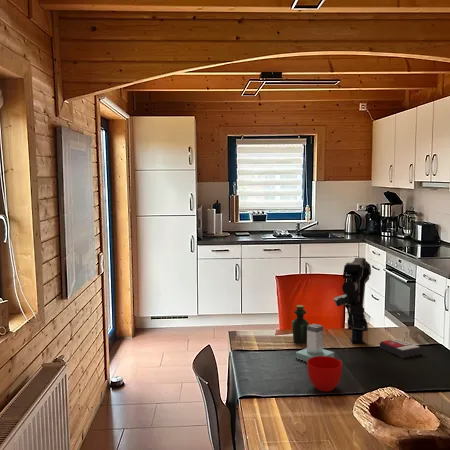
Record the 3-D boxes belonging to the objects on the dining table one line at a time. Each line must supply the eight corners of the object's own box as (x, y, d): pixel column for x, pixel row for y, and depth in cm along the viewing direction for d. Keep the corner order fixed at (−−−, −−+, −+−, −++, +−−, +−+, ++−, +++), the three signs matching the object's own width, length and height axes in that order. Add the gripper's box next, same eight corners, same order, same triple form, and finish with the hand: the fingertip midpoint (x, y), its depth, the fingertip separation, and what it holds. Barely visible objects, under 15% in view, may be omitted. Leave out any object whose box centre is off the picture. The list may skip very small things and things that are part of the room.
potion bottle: (311, 340, 234) (311, 305, 232) (304, 345, 227) (304, 308, 225) (295, 338, 238) (295, 303, 237) (289, 342, 231) (289, 306, 230)
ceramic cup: (344, 379, 188) (344, 354, 187) (340, 397, 172) (340, 370, 171) (311, 375, 192) (311, 351, 191) (304, 392, 176) (304, 366, 175)
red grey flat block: (397, 337, 226) (421, 345, 213) (397, 346, 227) (421, 355, 213) (379, 340, 222) (402, 349, 208) (379, 349, 222) (402, 358, 209)
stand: (312, 352, 218) (312, 345, 218) (334, 358, 209) (334, 352, 209) (295, 358, 210) (295, 352, 210) (317, 366, 201) (317, 359, 201)
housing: (314, 349, 213) (314, 323, 212) (323, 352, 209) (323, 325, 208) (307, 352, 210) (307, 325, 209) (316, 355, 206) (316, 328, 205)
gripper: (331, 285, 227) (331, 317, 228) (339, 294, 208) (339, 329, 210) (355, 285, 226) (354, 317, 228) (364, 294, 208) (364, 329, 209)
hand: (352, 322), depth 218 cm, fingers open, 9 cm apart
